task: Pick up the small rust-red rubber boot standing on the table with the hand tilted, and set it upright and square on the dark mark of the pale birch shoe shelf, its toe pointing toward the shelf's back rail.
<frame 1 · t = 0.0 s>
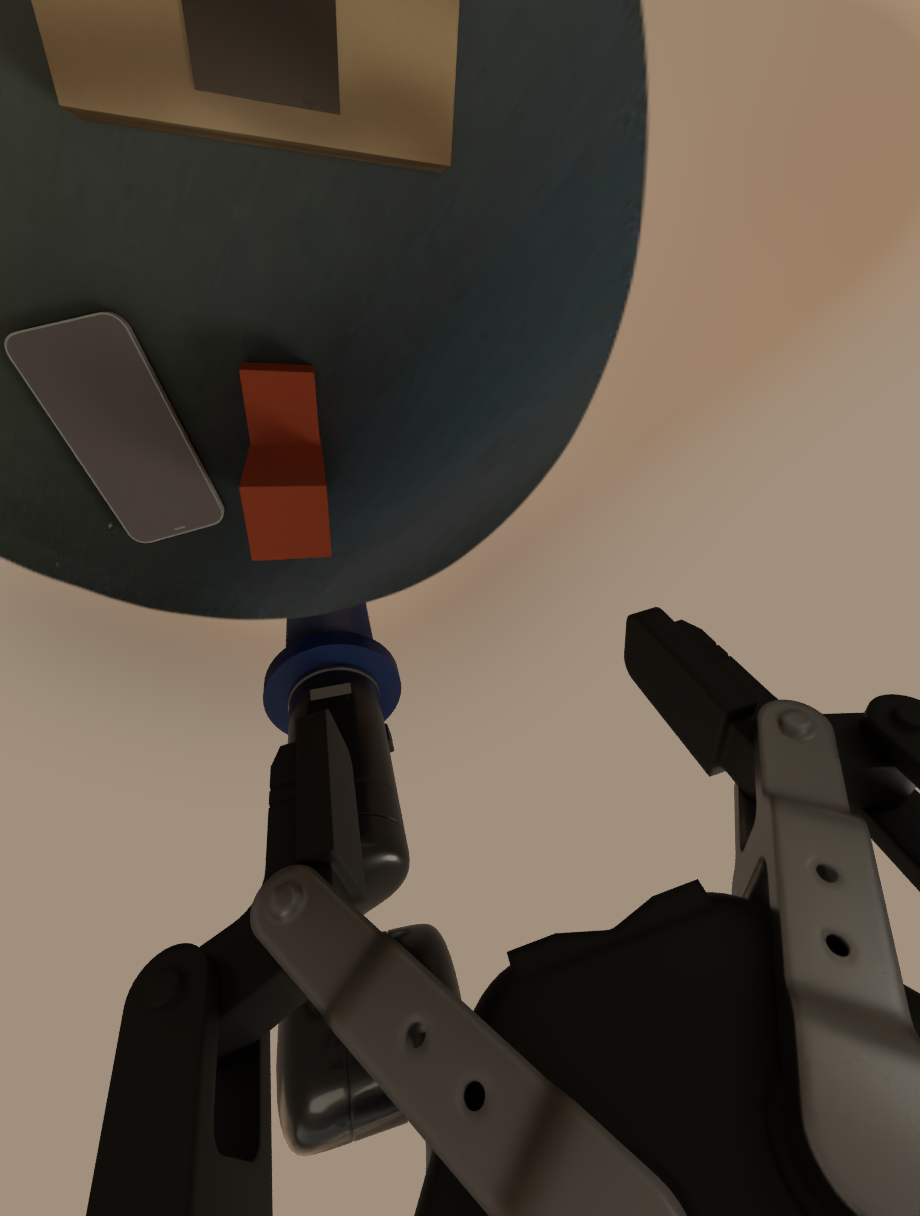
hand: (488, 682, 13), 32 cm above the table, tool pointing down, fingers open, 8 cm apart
boot: (290, 465, 40), on the table
smartphone: (132, 437, 36), on the table
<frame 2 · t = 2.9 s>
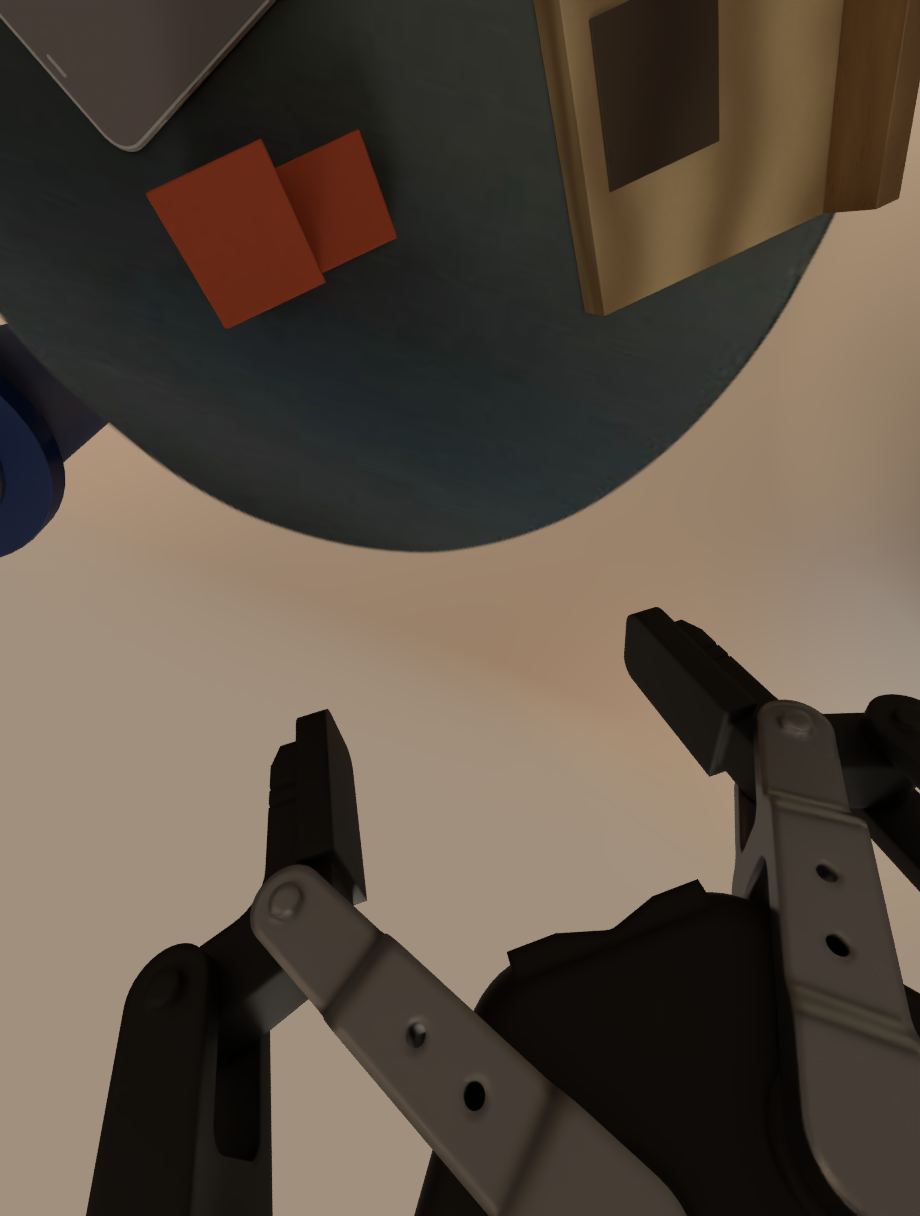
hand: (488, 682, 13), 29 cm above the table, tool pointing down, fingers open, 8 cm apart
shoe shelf: (689, 70, 30), on the table
boot: (258, 245, 29), on the table
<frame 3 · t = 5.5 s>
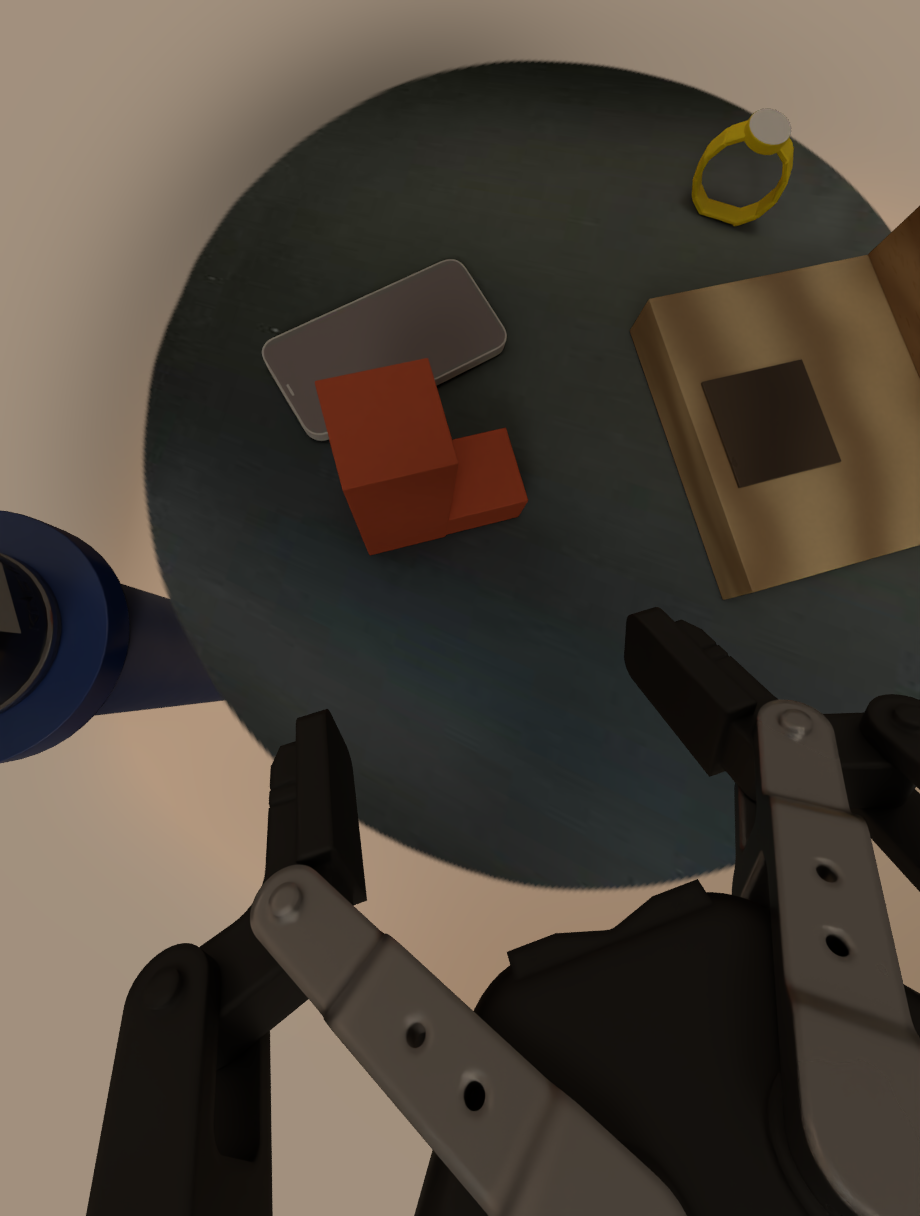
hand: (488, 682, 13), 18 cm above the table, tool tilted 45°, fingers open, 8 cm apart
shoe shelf: (790, 432, 35), on the table
boot: (397, 509, 32), on the table
smartphone: (388, 354, 33), on the table
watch: (715, 216, 37), on the table
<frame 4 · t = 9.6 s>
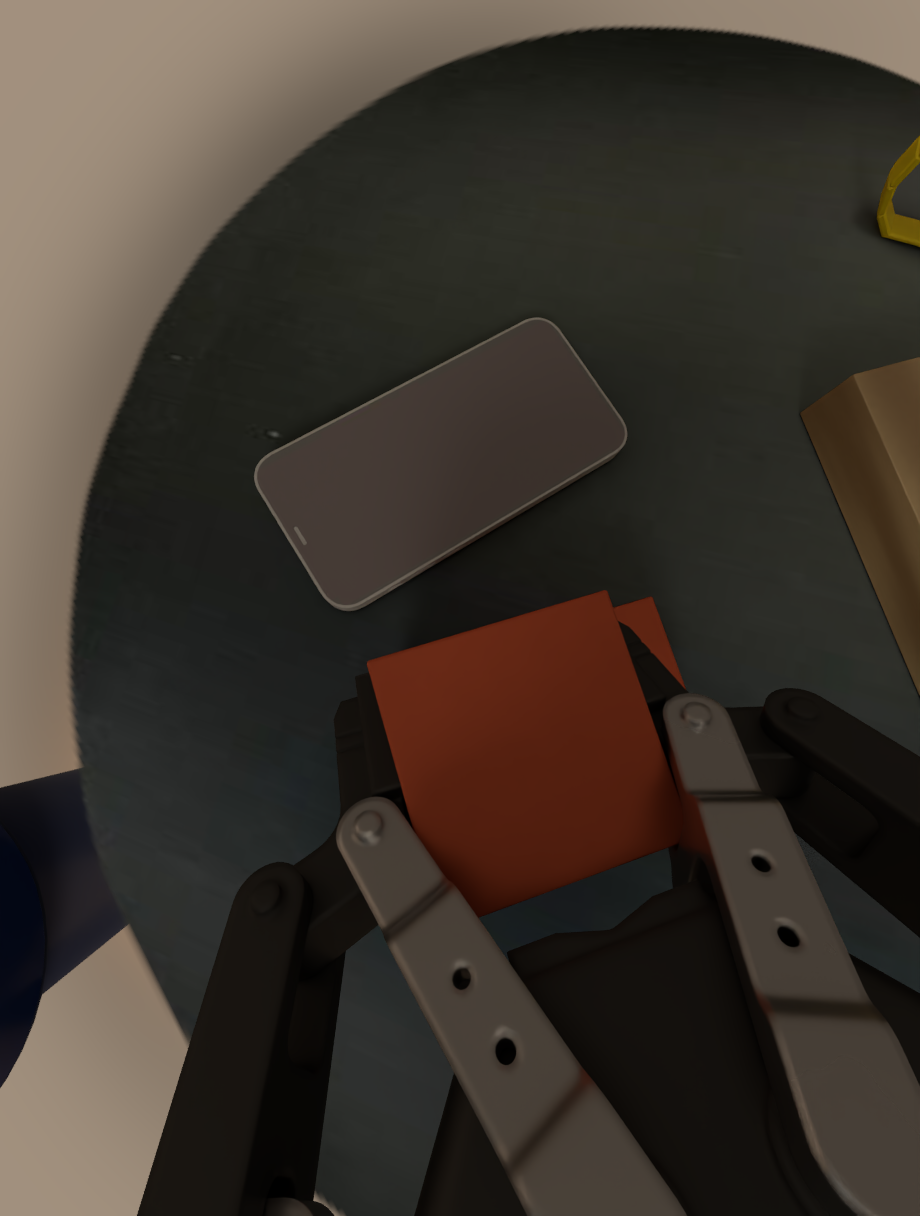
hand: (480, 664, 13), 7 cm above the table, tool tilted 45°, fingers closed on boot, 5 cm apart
boot: (472, 714, 20), on the table, touching gripper
smartphone: (447, 464, 22), on the table
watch: (902, 239, 26), on the table
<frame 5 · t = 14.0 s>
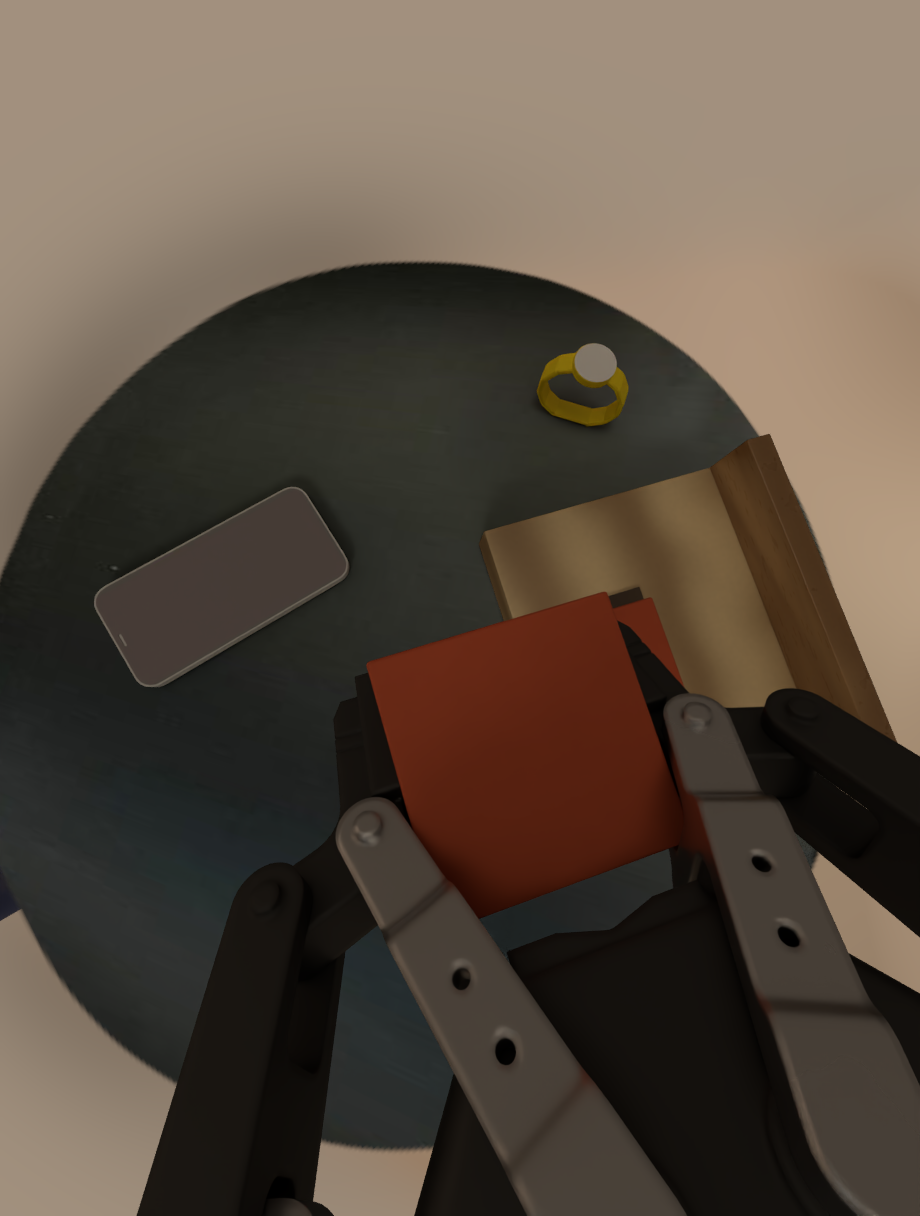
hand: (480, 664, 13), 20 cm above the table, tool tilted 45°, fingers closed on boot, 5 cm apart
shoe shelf: (642, 641, 35), on the table
boot: (472, 715, 20), point 13 cm above the table, touching gripper
smartphone: (230, 585, 33), on the table
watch: (569, 414, 37), on the table
when the fingers open (10 cm above the table, at t = 18.5 s): boot stays where it is, resting on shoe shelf.
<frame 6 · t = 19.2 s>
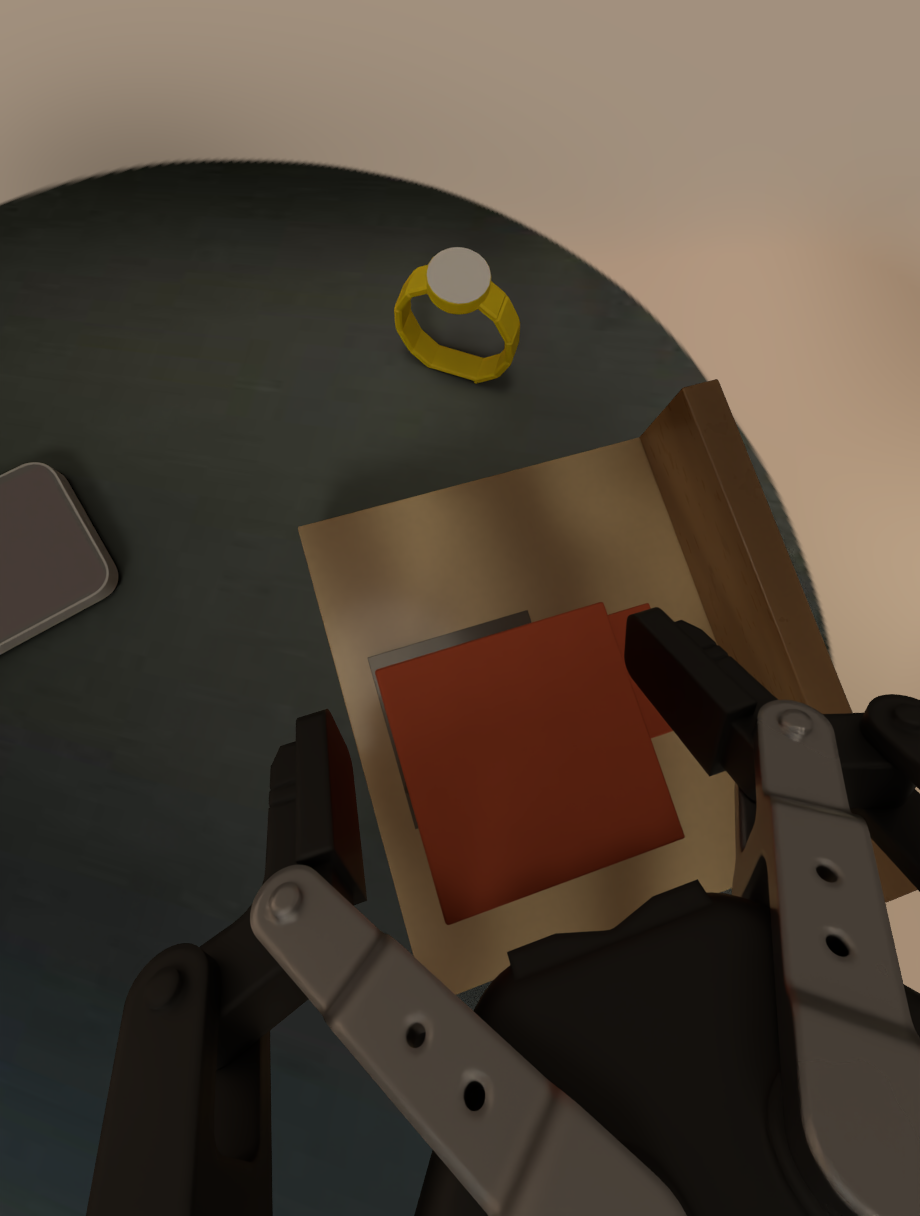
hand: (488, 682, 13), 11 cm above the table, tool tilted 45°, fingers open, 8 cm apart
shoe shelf: (544, 686, 24), on the table
boot: (474, 717, 21), point 3 cm above the table, touching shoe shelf
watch: (453, 367, 27), on the table
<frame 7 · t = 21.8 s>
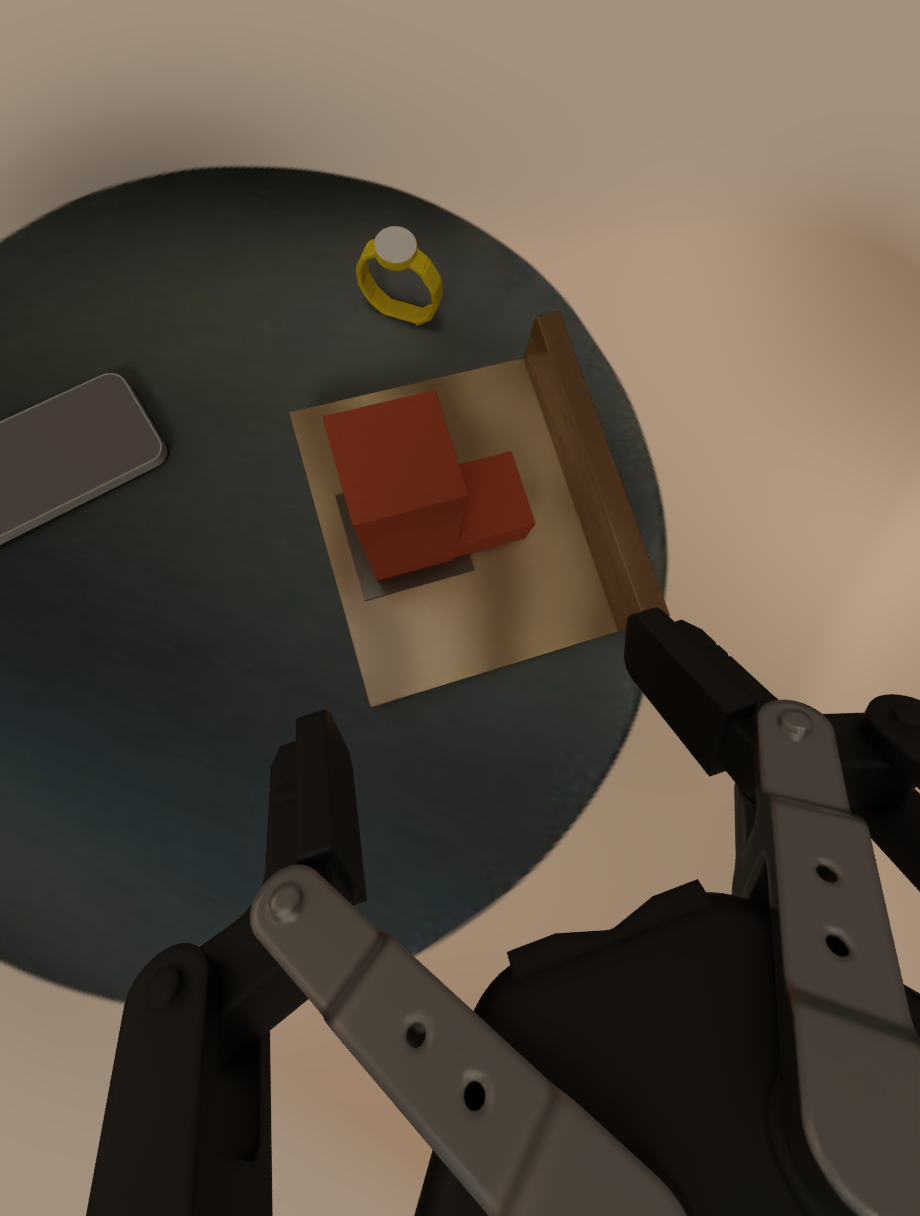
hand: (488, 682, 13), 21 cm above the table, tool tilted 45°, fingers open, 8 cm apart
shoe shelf: (460, 531, 35), on the table
boot: (404, 534, 32), point 3 cm above the table, touching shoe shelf
smartphone: (47, 468, 34), on the table
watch: (401, 315, 38), on the table
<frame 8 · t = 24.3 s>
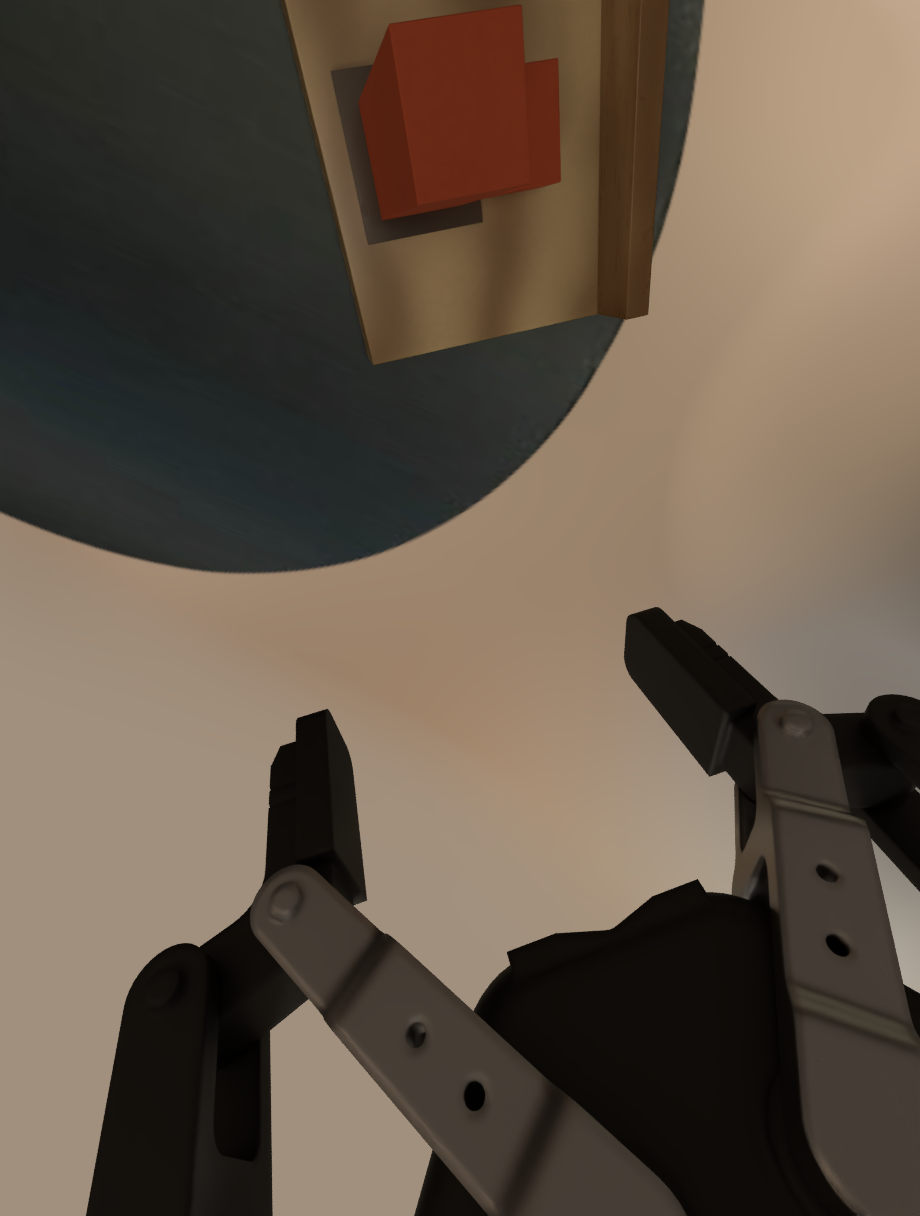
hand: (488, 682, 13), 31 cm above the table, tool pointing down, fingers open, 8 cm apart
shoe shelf: (466, 151, 31), on the table
boot: (413, 156, 28), point 3 cm above the table, touching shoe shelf
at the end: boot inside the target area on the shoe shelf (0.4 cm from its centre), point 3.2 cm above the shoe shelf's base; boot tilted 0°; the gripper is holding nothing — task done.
